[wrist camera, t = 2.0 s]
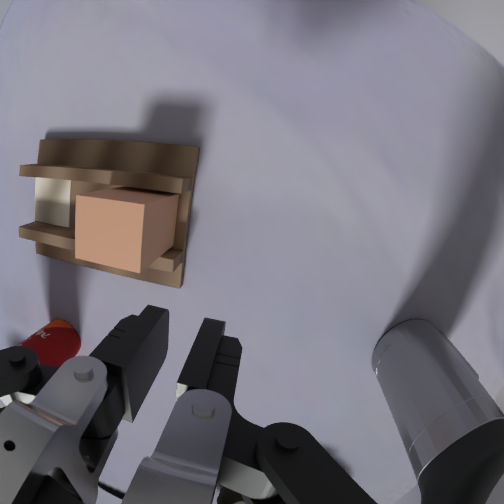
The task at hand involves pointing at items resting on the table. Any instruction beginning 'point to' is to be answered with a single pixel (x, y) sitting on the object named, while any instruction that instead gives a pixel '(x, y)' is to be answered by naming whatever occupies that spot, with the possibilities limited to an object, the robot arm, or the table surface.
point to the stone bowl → (229, 497)
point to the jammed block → (125, 226)
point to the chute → (105, 177)
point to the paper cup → (52, 345)
